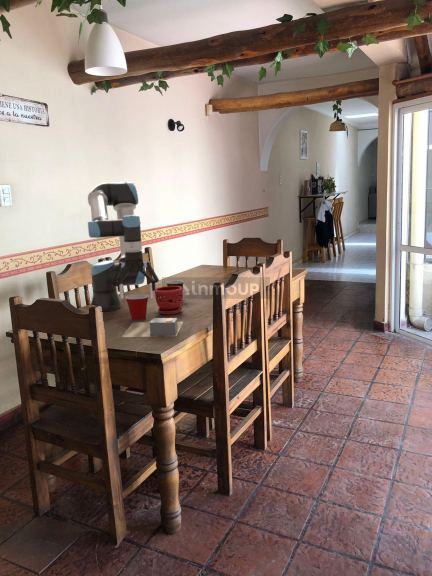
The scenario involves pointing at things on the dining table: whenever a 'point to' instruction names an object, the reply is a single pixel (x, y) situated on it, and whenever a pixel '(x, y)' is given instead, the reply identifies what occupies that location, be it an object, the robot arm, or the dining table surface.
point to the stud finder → (163, 327)
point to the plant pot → (169, 299)
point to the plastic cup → (137, 306)
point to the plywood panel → (143, 330)
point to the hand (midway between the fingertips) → (137, 298)
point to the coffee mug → (175, 283)
